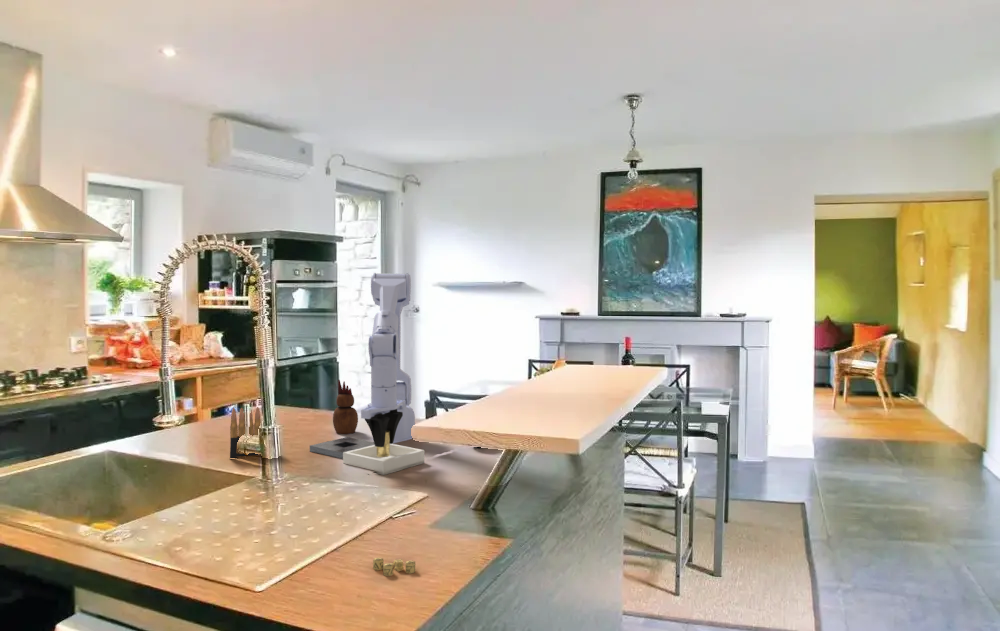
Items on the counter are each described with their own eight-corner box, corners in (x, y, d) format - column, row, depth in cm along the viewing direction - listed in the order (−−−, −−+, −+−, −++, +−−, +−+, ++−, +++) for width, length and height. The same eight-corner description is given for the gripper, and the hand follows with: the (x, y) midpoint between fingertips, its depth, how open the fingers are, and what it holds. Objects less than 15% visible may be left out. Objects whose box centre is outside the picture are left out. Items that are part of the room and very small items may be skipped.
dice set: (417, 576, 103) (417, 563, 103) (384, 583, 101) (384, 570, 100) (403, 564, 107) (403, 551, 107) (371, 571, 105) (371, 558, 105)
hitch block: (347, 444, 182) (347, 437, 182) (380, 451, 175) (380, 443, 175) (309, 453, 173) (309, 445, 173) (342, 461, 166) (342, 452, 166)
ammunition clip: (277, 454, 172) (277, 405, 171) (277, 456, 170) (277, 406, 170) (230, 457, 169) (229, 407, 168) (229, 459, 167) (229, 408, 166)
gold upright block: (381, 453, 165) (381, 429, 165) (392, 454, 164) (392, 431, 164) (373, 455, 163) (373, 432, 162) (384, 457, 161) (384, 433, 161)
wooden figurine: (328, 434, 194) (328, 379, 194) (344, 430, 199) (344, 377, 198) (346, 437, 190) (345, 382, 190) (361, 434, 195) (361, 379, 194)
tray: (384, 454, 172) (384, 442, 172) (424, 462, 164) (424, 450, 164) (343, 465, 162) (343, 452, 162) (383, 475, 154) (383, 461, 154)
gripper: (387, 380, 171) (387, 436, 171) (349, 388, 158) (350, 449, 158) (412, 382, 167) (412, 439, 168) (376, 391, 154) (376, 453, 155)
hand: (384, 444), depth 163 cm, fingers closed on gold upright block, 3 cm apart
